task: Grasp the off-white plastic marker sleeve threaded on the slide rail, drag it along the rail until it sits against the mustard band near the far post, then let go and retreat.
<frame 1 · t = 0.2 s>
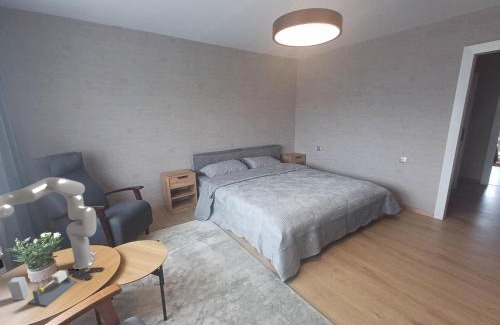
skincare box: (21, 297, 127), on the table
slide rail: (54, 292, 130), on the table
sleeve: (59, 276, 133), point 7 cm above the table, slide at 0.0 cm
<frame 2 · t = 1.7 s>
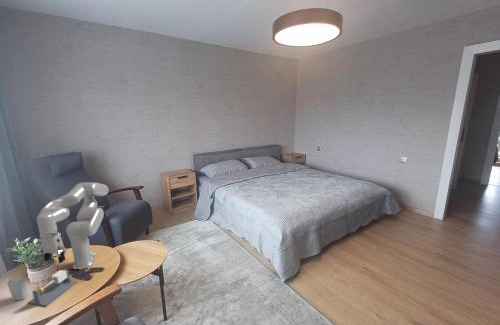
hand: (55, 260, 131), 18 cm above the table, fingers open, 9 cm apart
nothing on the table moved.
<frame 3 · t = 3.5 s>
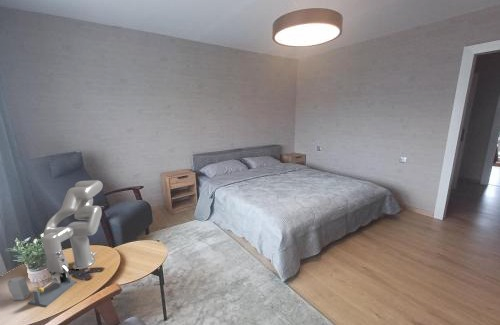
hand: (60, 280, 134), 4 cm above the table, fingers closed on sleeve, 4 cm apart
sleeve: (59, 276, 133), point 7 cm above the table, slide at 0.0 cm, touching gripper
everything else where it was.
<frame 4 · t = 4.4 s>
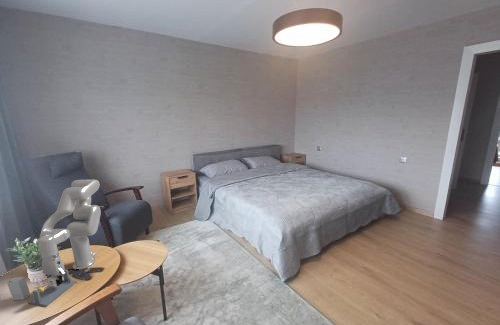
hand: (56, 283, 132), 4 cm above the table, fingers closed on sleeve, 4 cm apart
sleeve: (55, 279, 131), point 7 cm above the table, slide at 2.3 cm, touching gripper
everything else where it was.
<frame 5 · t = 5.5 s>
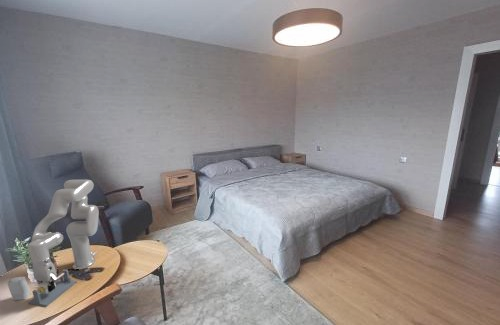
hand: (48, 289, 127), 4 cm above the table, fingers closed on sleeve, 4 cm apart
sleeve: (47, 285, 127), point 7 cm above the table, slide at 7.0 cm, touching gripper
everything else where it was.
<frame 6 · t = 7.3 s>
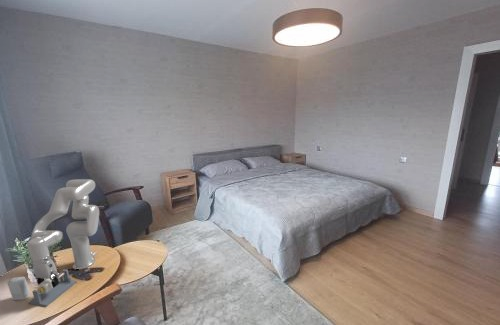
hand: (48, 284, 128), 7 cm above the table, fingers open, 9 cm apart
sleeve: (47, 285, 127), point 7 cm above the table, slide at 7.0 cm
everything else where it was.
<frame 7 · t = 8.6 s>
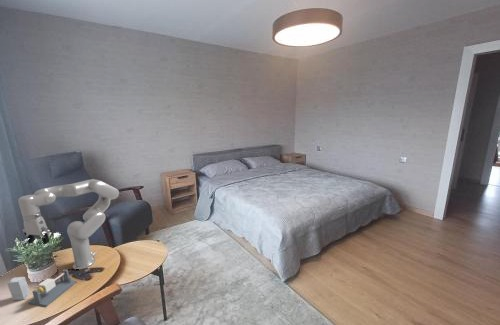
hand: (39, 242, 133), 28 cm above the table, fingers open, 9 cm apart
nothing on the table moved.
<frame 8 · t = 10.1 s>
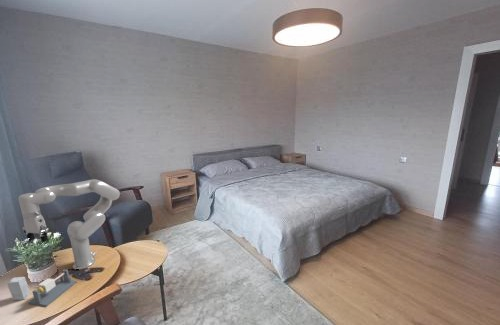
hand: (38, 240, 133), 28 cm above the table, fingers open, 9 cm apart
nothing on the table moved.
at the end: sleeve slide at 7.0 cm; the gripper is holding nothing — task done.
